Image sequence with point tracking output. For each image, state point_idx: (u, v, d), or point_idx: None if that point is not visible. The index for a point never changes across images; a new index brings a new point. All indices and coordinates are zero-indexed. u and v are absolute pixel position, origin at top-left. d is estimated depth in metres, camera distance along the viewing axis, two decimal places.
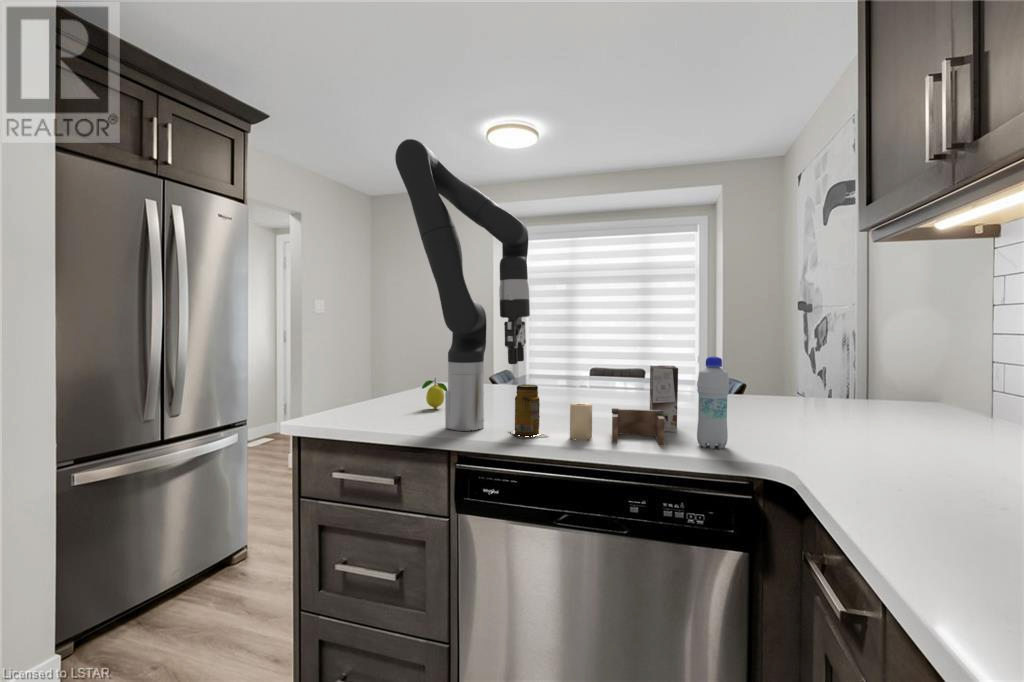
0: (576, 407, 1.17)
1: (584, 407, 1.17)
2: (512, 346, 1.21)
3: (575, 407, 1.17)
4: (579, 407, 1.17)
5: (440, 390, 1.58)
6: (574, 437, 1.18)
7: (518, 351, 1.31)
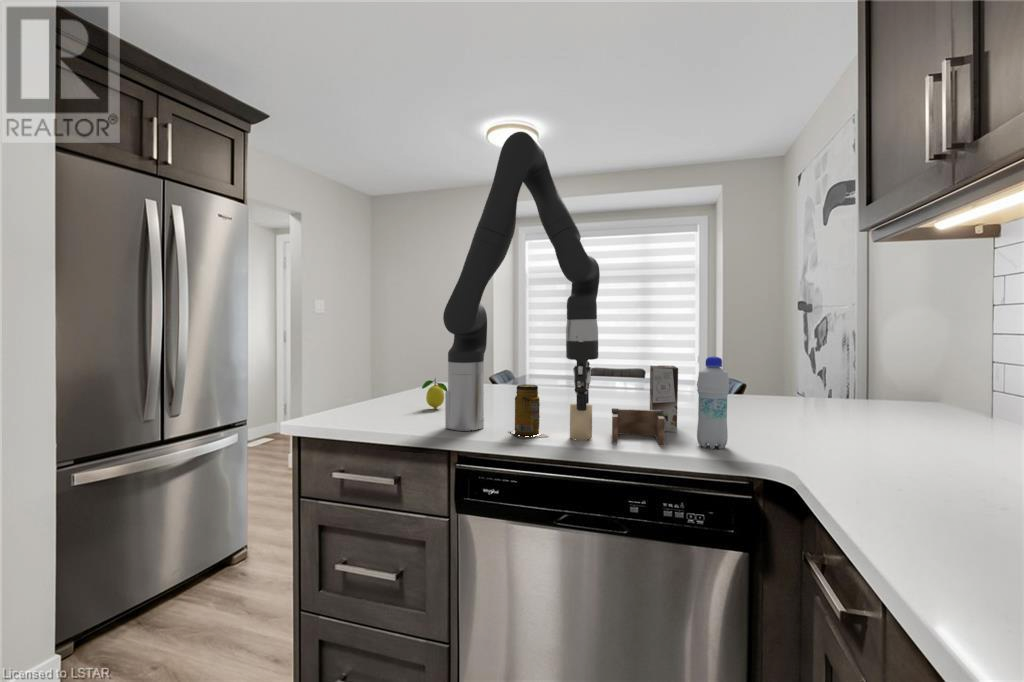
0: (576, 407, 1.17)
1: None
2: (582, 392, 1.13)
3: (575, 407, 1.17)
4: None
5: (440, 390, 1.58)
6: (574, 437, 1.18)
7: None
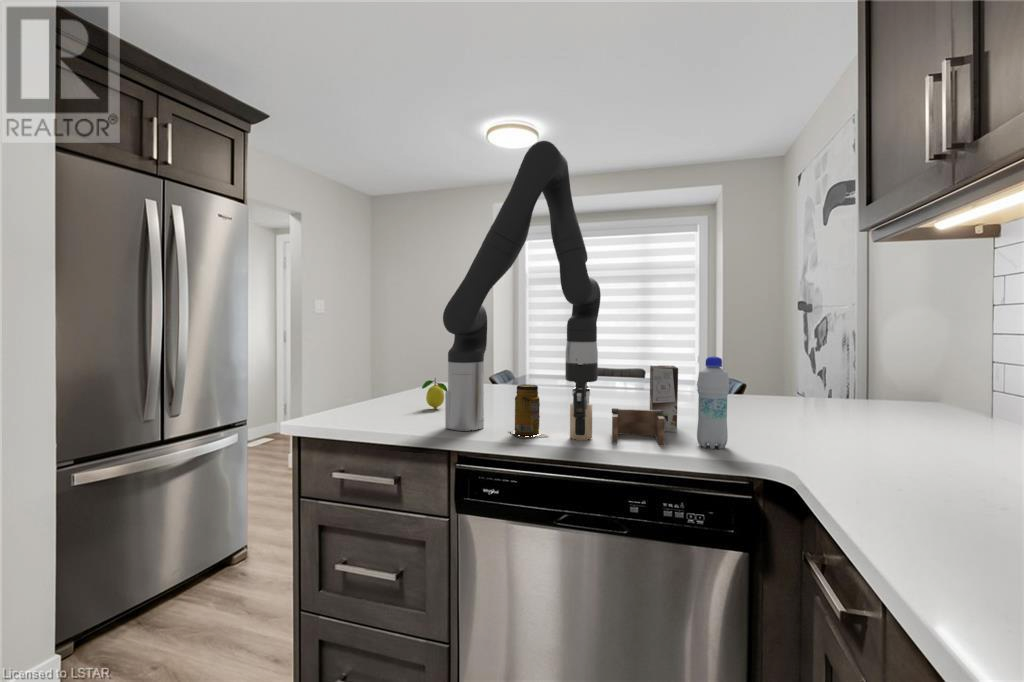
0: None
1: None
2: (581, 417, 1.14)
3: None
4: None
5: (440, 390, 1.58)
6: (574, 437, 1.18)
7: None
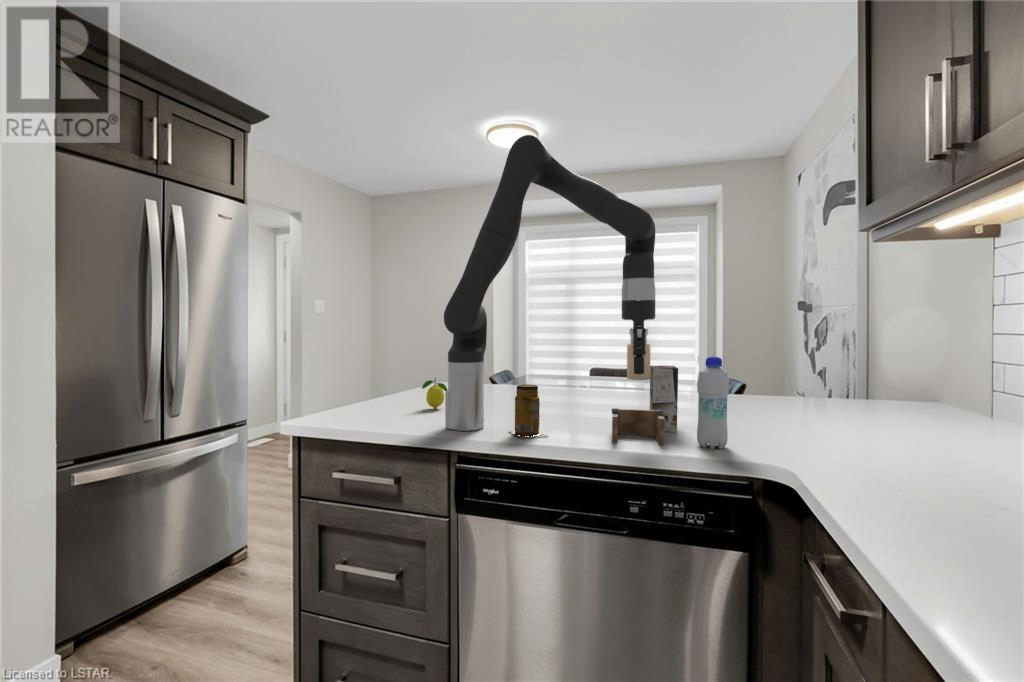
0: None
1: None
2: (641, 355, 1.11)
3: None
4: None
5: (440, 390, 1.58)
6: (633, 377, 1.14)
7: None
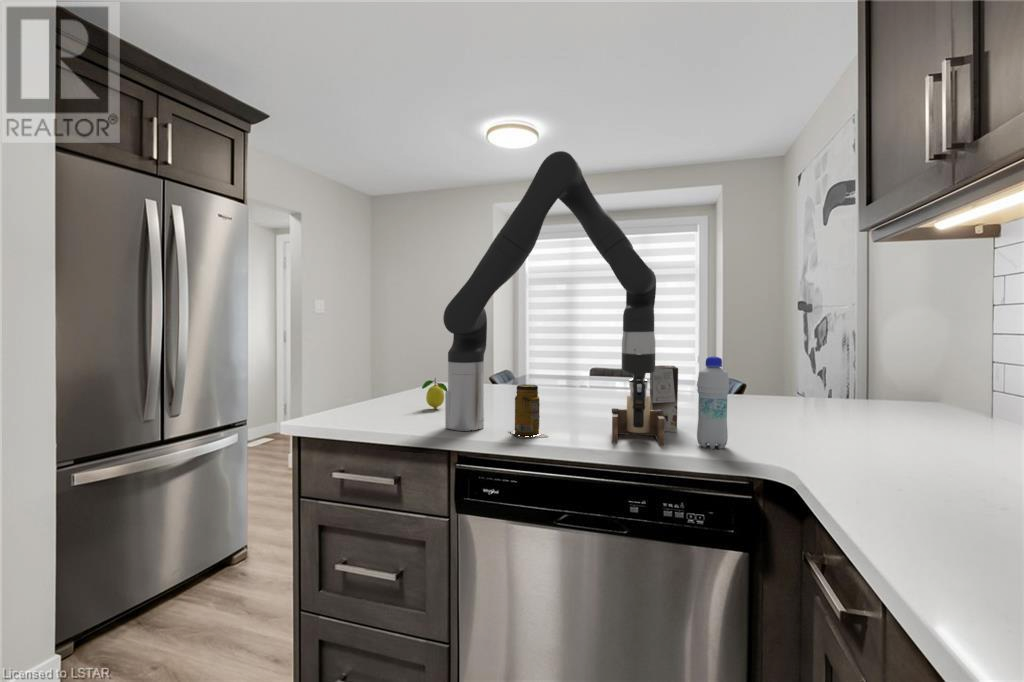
0: None
1: None
2: (641, 409, 1.12)
3: None
4: None
5: (440, 390, 1.58)
6: (632, 429, 1.15)
7: None
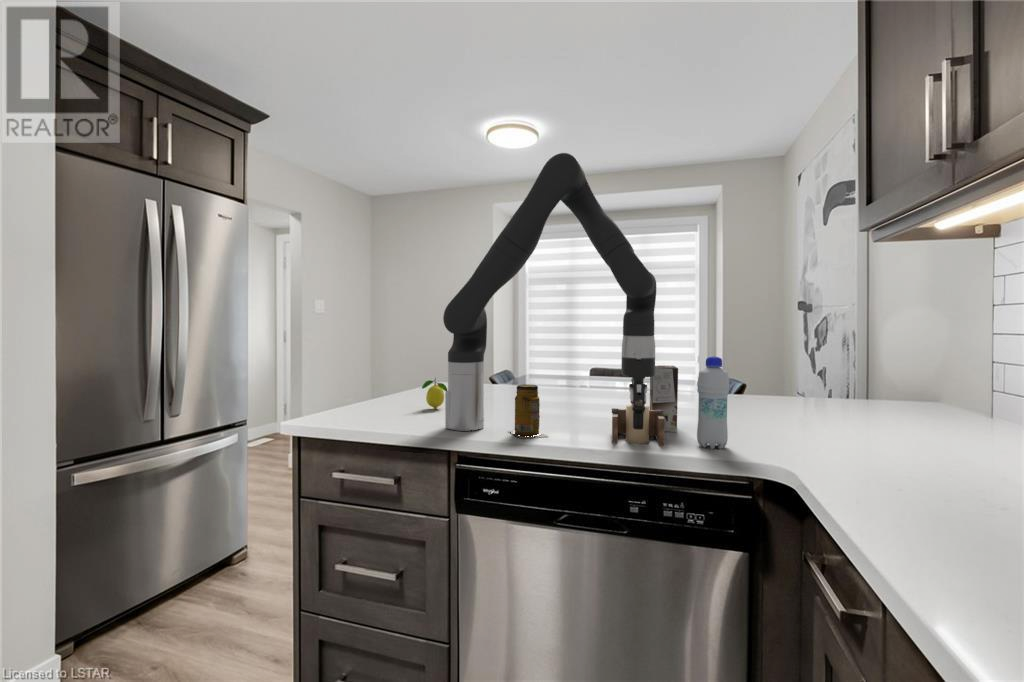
0: None
1: None
2: (640, 411, 1.10)
3: None
4: None
5: (440, 390, 1.58)
6: (631, 440, 1.15)
7: None
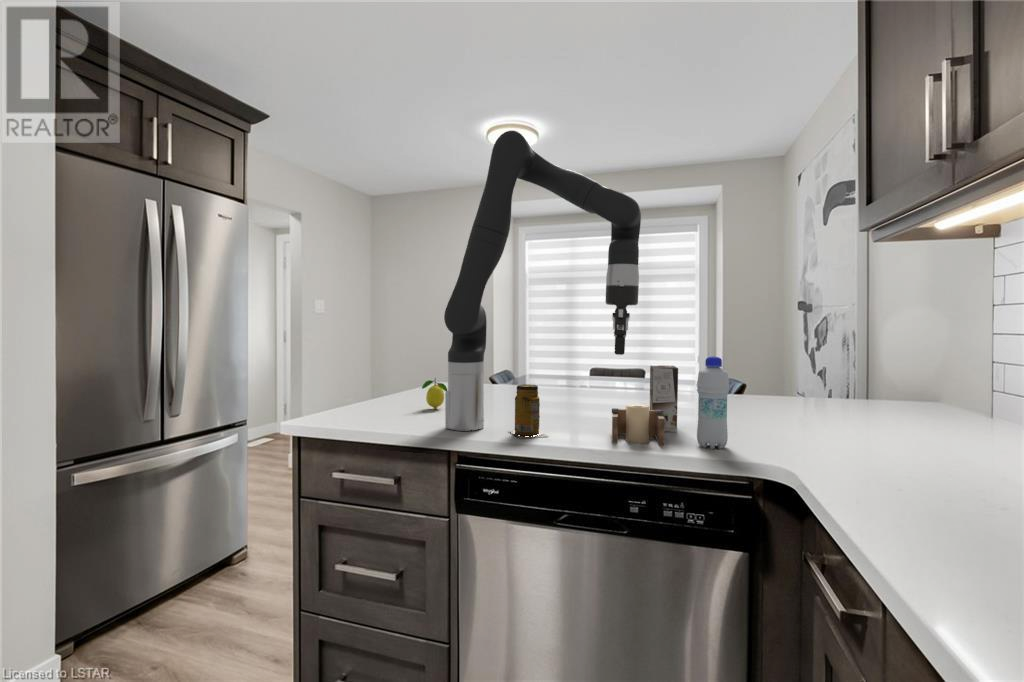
0: (633, 409, 1.15)
1: (642, 409, 1.14)
2: (622, 335, 1.13)
3: (632, 409, 1.15)
4: (637, 409, 1.14)
5: (440, 390, 1.58)
6: (631, 440, 1.15)
7: None
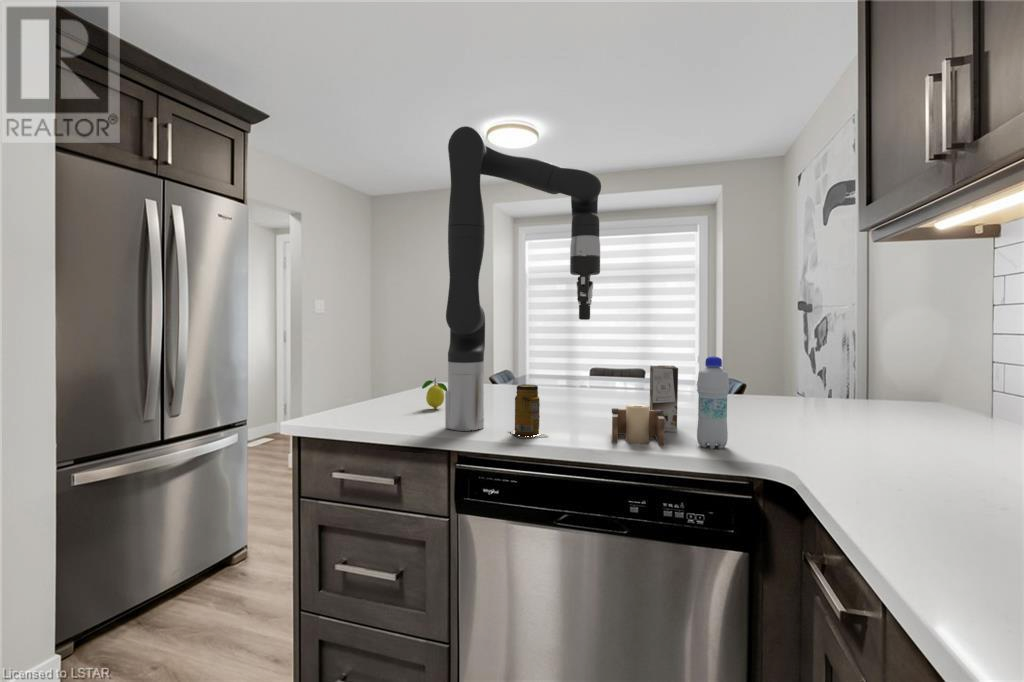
0: (634, 409, 1.15)
1: (642, 409, 1.14)
2: (584, 301, 1.22)
3: (632, 409, 1.15)
4: (637, 409, 1.14)
5: (440, 390, 1.58)
6: (631, 440, 1.15)
7: None
